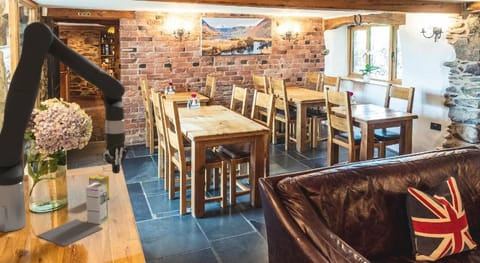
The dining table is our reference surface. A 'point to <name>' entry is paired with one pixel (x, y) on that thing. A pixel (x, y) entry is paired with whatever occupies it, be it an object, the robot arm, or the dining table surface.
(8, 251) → the dining table surface
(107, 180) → the supplement box
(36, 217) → the dining table surface
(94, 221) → the syrup box
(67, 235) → the charcoal mat
